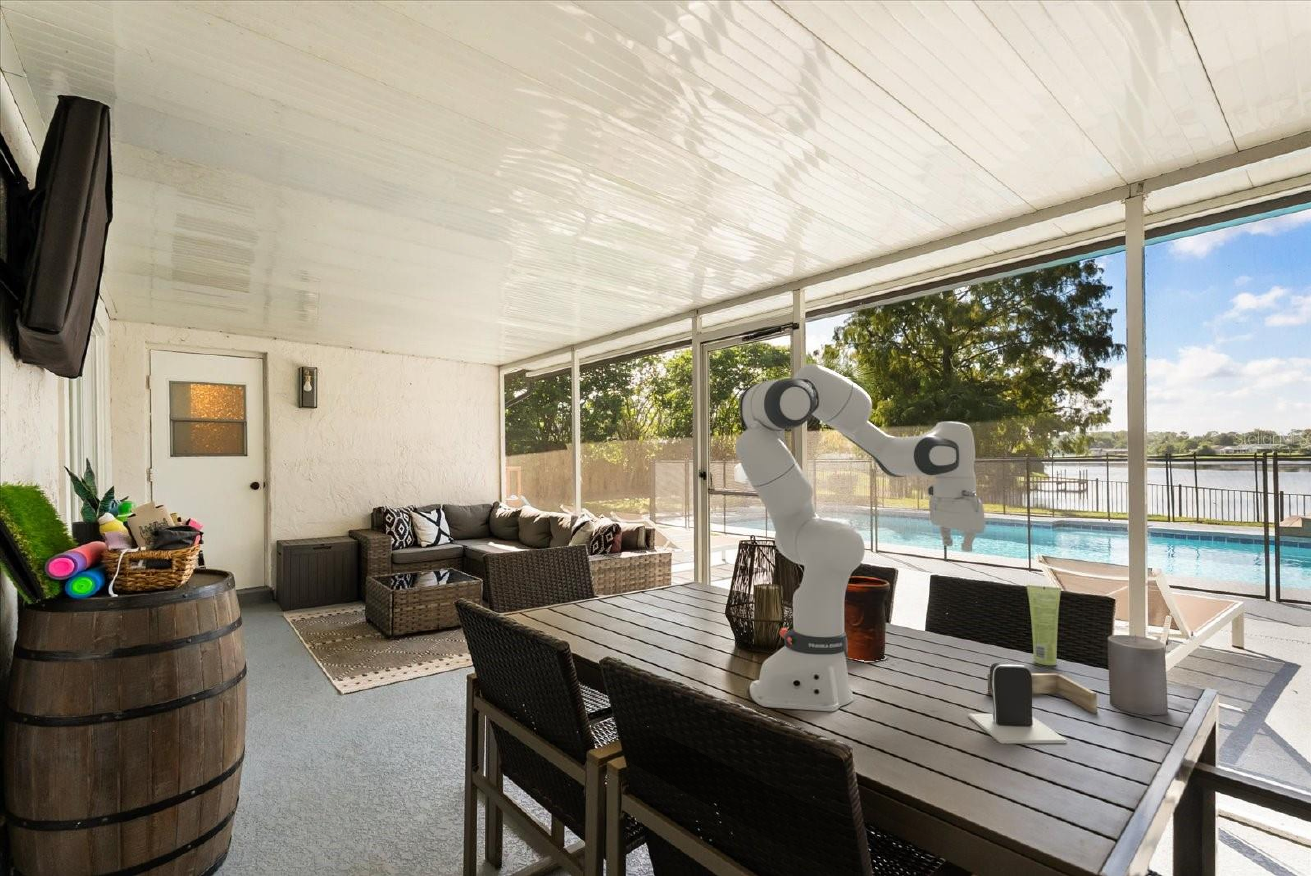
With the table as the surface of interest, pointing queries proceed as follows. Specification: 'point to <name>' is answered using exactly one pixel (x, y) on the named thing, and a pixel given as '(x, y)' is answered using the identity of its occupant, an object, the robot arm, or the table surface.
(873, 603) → the vessel
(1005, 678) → the battery charger
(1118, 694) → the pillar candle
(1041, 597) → the tube
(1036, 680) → the bay
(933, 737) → the table surface
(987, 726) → the mat
